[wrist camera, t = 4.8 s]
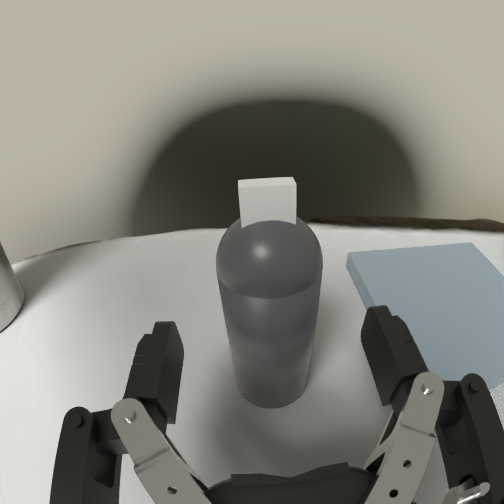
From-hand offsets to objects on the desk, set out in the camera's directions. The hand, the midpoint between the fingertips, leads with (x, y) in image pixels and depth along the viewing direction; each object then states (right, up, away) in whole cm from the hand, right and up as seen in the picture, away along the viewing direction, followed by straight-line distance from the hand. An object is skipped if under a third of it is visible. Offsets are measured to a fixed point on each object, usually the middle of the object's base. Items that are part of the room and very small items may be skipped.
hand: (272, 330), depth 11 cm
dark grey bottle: (0, -5, +6) cm, 7 cm away
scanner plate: (+16, -2, +8) cm, 18 cm away
